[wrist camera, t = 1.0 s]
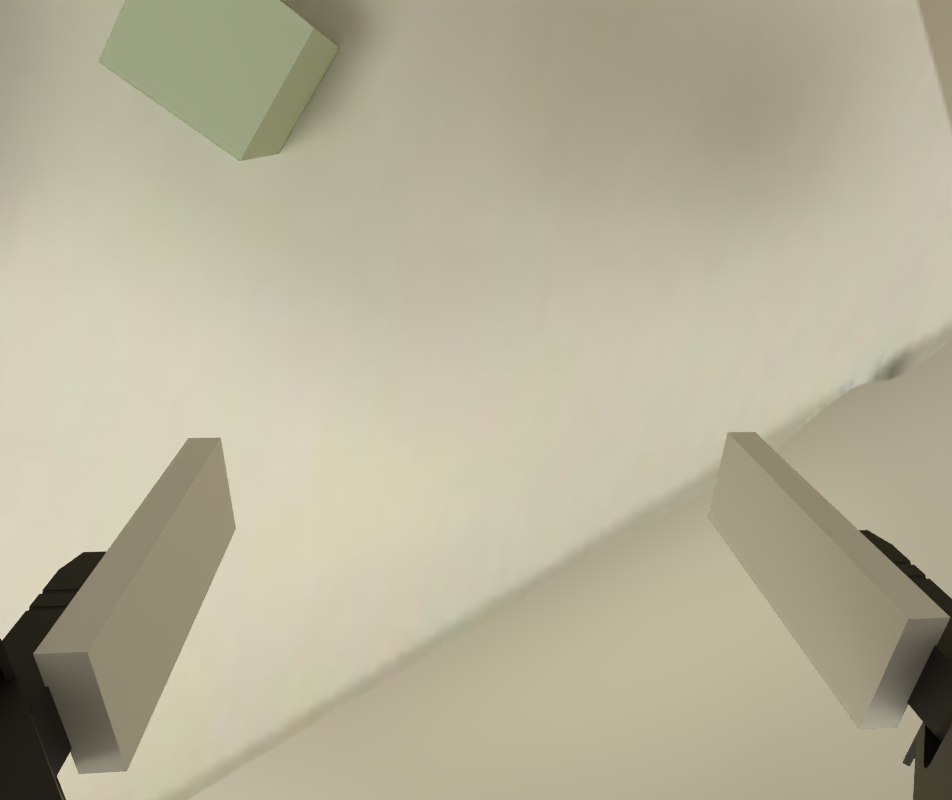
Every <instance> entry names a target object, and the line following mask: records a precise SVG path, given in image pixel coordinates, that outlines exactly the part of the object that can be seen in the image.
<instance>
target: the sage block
mask: <svg viewBox="0 0 952 800" xmlns="http://www.w3.org/2000/svg"><path fill="white" fill-rule="evenodd" d="M338 50H339V47H338V46H337V45H335V44H334V43H333V42H332V41H330V40H329V39H328V38H327V37H325V36H324V35H323V34H322V33H320V32H319V31H318V30H317V29H315V28H314V27H313V26H312V25H310V24H309V23H308V22H307V21H305V20H304V19H303V18H302V17H301V16H299V15H298V14H297V13H296V12H294V11H293V10H292V9H291V8H289V7H288V6H287V5H286V4H284V3H283V2H282V1H281V0H126V1H125V4H124V6H123V8H122V10H121V13H120V15H119V17H118V19H117V21H116V24H115V26H114V28H113V30H112V33H111V35H110V37H109V39H108V41H107V44H106V46H105V48H104V50H103V53H102V55H101V57H100V59H99V61H98V62H99V63H101V64H102V65H103V66H105V67H106V68H108V69H109V70H111V71H112V72H113V73H115V74H116V75H118V76H119V77H121V78H122V79H123V80H125V81H126V82H128V83H129V84H131V85H132V86H133V87H135V88H136V89H138V90H139V91H141V92H142V93H143V94H145V95H146V96H148V97H149V98H151V99H152V100H153V101H155V102H156V103H158V104H159V105H161V106H162V107H163V108H165V109H166V110H168V111H169V112H171V113H172V114H173V115H175V116H176V117H178V118H179V119H181V120H182V121H183V122H185V123H186V124H188V125H189V126H191V127H192V128H193V129H195V130H196V131H198V132H199V133H201V134H202V135H203V136H205V137H206V138H208V139H209V140H211V141H212V142H213V143H215V144H216V145H218V146H219V147H221V148H222V149H223V150H225V151H226V152H228V153H229V154H231V155H232V156H233V157H235V158H236V159H238V160H239V161H242V160H247V159H253V158H258V157H263V156H268V155H273V154H279V152H280V150H281V149H282V147H283V145H284V143H285V142H286V140H287V138H288V136H289V135H290V133H291V131H292V130H293V128H294V126H295V124H296V123H297V121H298V119H299V117H300V116H301V114H302V112H303V110H304V109H305V107H306V105H307V104H308V102H309V100H310V98H311V97H312V95H313V93H314V91H315V90H316V88H317V86H318V84H319V83H320V81H321V79H322V78H323V76H324V74H325V72H326V71H327V69H328V67H329V65H330V64H331V62H332V60H333V59H334V57H335V55H336V53H337V52H338Z"/></svg>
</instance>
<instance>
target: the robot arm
mask: <svg viewBox="0 0 952 800" xmlns="http://www.w3.org/2000/svg"><path fill="white" fill-rule="evenodd" d="M708 518H709V520H710V521H711V523H712V524H713V526H714V527H715V528H716V530H717V531H718V533H719V534H720V535H721V537H722V538H723V540H724V541H725V542H726V544H727V545H728V547H729V548H730V549H731V551H732V552H733V553H734V555H735V556H736V558H737V559H738V561H739V562H740V563H741V565H742V566H743V568H744V569H745V570H746V572H747V573H748V575H749V576H750V577H751V579H752V580H753V582H754V583H755V584H756V586H757V587H758V589H759V590H760V591H761V593H762V594H763V596H764V597H765V598H766V600H767V601H768V603H769V604H770V605H771V607H772V608H773V610H774V611H775V612H776V614H777V615H778V617H779V618H780V619H781V621H782V622H783V624H784V625H785V626H786V628H787V629H788V631H789V632H790V633H791V635H792V636H793V638H794V639H795V640H796V642H797V643H798V645H799V646H800V648H801V649H802V650H803V652H804V653H805V654H806V656H807V657H808V659H809V660H810V661H811V663H812V664H813V666H814V667H815V668H816V670H817V671H818V673H819V674H820V675H821V677H822V678H823V680H824V681H825V682H826V684H827V685H828V686H829V688H830V689H831V691H832V692H833V694H834V695H835V697H836V698H837V699H838V701H839V702H840V704H841V705H842V706H843V708H844V709H845V711H846V712H847V713H848V715H849V716H850V718H851V719H852V720H853V722H854V723H855V724H856V726H857V727H858V729H875V728H894V727H897V726H898V725H899V722H900V720H901V718H902V716H903V714H904V712H905V710H906V708H907V706H908V704H909V705H910V706H911V707H912V709H913V710H914V711H915V712H916V714H917V715H918V716H919V717H920V718H921V720H922V721H923V723H922V725H921V727H920V729H919V731H918V733H917V735H916V737H915V738H914V740H913V742H912V744H911V746H910V748H909V750H908V752H907V754H906V756H905V759H904V761H903V763H904V764H906V765H908V766H910V765H911V763H912V761H913V759H914V758H915V774H914V794H913V800H952V599H951V598H950V597H949V596H948V595H947V594H946V593H944V592H943V591H942V590H941V589H940V588H939V587H938V586H937V585H936V584H935V583H934V582H932V581H931V580H930V579H926V577H925V574H924V573H923V572H922V571H920V570H919V569H918V568H917V567H916V566H915V565H911V563H910V561H909V560H908V559H907V558H906V557H905V556H904V555H903V554H902V553H901V552H900V551H898V550H897V549H896V548H895V547H894V546H893V545H892V544H890V543H888V542H887V541H885V540H883V539H882V538H880V537H878V536H876V535H875V534H873V533H871V532H870V531H868V530H858V529H857V528H856V527H854V526H853V525H852V524H851V523H850V522H849V521H848V520H847V519H846V518H845V517H844V516H843V515H842V514H841V513H840V512H839V511H838V510H837V509H835V507H833V506H832V505H831V504H830V503H829V502H828V501H827V500H826V499H825V498H824V497H823V496H822V495H821V494H820V493H819V492H818V491H817V490H816V489H814V488H813V487H812V486H811V485H810V484H809V483H808V482H807V481H806V480H805V479H804V478H803V477H802V476H801V475H800V474H799V473H797V471H795V470H794V469H793V468H792V467H791V466H790V465H789V464H788V463H787V462H786V461H785V460H784V459H783V458H782V457H781V456H780V455H779V454H778V453H776V452H775V451H774V450H773V449H772V448H771V447H770V446H769V445H768V444H767V443H766V442H765V441H764V440H763V439H762V438H761V437H760V436H759V435H757V434H756V433H755V432H729V433H727V438H726V442H725V446H724V450H723V455H722V459H721V463H720V467H719V471H718V476H717V480H716V484H715V488H714V493H713V497H712V501H711V505H710V510H709V514H708ZM235 529H236V527H235V521H234V515H233V509H232V503H231V497H230V491H229V485H228V479H227V473H226V467H225V461H224V455H223V449H222V443H221V438H188V440H187V441H186V443H185V444H184V445H183V447H182V448H181V449H180V451H179V452H178V454H177V455H176V456H175V458H174V459H173V461H172V462H171V463H170V465H169V466H168V468H167V469H166V470H165V472H164V473H163V474H162V476H161V477H160V479H159V480H158V481H157V483H156V484H155V486H154V487H153V488H152V490H151V491H150V492H149V494H148V495H147V497H146V498H145V499H144V501H143V502H142V504H141V505H140V506H139V508H138V509H137V511H136V512H135V513H134V515H133V516H132V517H131V519H130V520H129V522H128V523H127V524H126V526H125V527H124V529H123V530H122V531H121V533H120V534H119V535H118V537H117V538H116V540H115V541H114V542H113V544H112V545H111V547H110V548H109V549H108V551H107V552H83V553H82V554H80V555H79V556H77V557H76V558H75V559H73V560H72V561H71V562H69V563H68V564H66V565H65V566H64V567H62V568H61V569H59V570H58V571H57V573H56V574H55V575H54V576H53V578H52V579H51V580H50V582H49V583H48V584H47V585H46V587H45V588H44V589H43V593H42V594H39V595H38V597H37V598H36V599H35V600H34V602H33V603H32V604H31V605H30V607H29V611H26V612H25V613H24V614H23V615H22V617H21V618H20V619H19V620H18V622H17V623H16V624H15V625H14V627H13V628H12V629H11V630H10V632H9V633H8V634H7V635H6V637H5V638H4V639H3V640H2V641H1V639H0V800H66V799H65V796H64V793H63V791H62V788H61V786H60V783H59V781H58V778H57V774H58V773H59V771H60V769H61V767H62V765H63V764H64V762H65V760H66V758H67V756H68V755H69V753H70V752H71V755H72V757H73V760H74V763H75V765H76V768H77V770H78V773H79V774H85V773H103V772H120V771H127V769H128V767H129V765H130V763H131V760H132V758H133V756H134V754H135V752H136V749H137V747H138V745H139V743H140V740H141V738H142V736H143V734H144V732H145V729H146V727H147V725H148V723H149V720H150V718H151V716H152V714H153V711H154V709H155V707H156V705H157V703H158V700H159V698H160V696H161V694H162V691H163V689H164V687H165V685H166V683H167V680H168V678H169V676H170V674H171V671H172V669H173V667H174V665H175V663H176V660H177V658H178V656H179V654H180V651H181V649H182V647H183V645H184V642H185V640H186V638H187V636H188V634H189V631H190V629H191V627H192V625H193V622H194V620H195V618H196V616H197V614H198V611H199V609H200V607H201V605H202V602H203V600H204V598H205V596H206V593H207V591H208V589H209V587H210V585H211V582H212V580H213V578H214V576H215V573H216V571H217V569H218V567H219V565H220V562H221V560H222V558H223V556H224V553H225V551H226V549H227V547H228V545H229V542H230V540H231V538H232V536H233V533H234V531H235Z"/></svg>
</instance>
